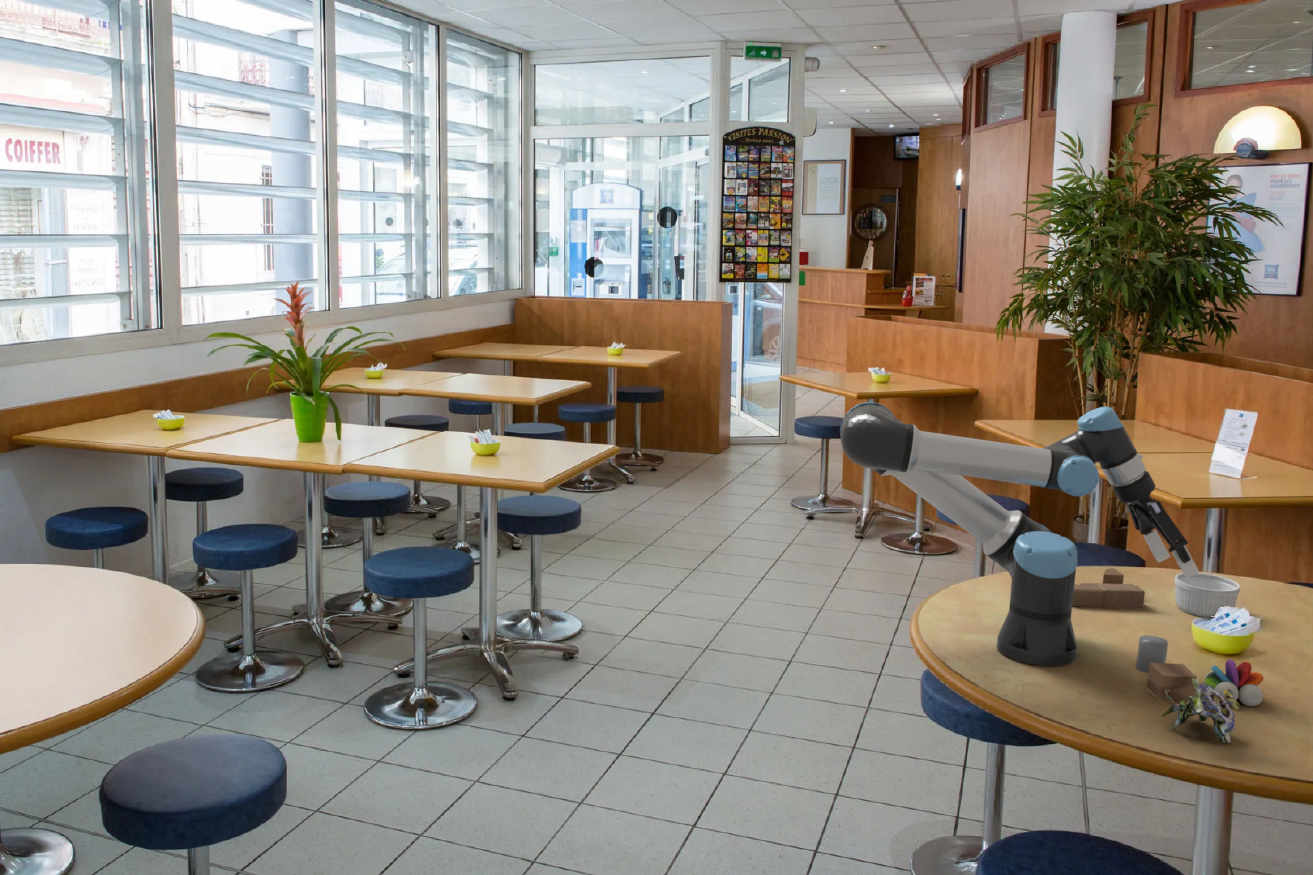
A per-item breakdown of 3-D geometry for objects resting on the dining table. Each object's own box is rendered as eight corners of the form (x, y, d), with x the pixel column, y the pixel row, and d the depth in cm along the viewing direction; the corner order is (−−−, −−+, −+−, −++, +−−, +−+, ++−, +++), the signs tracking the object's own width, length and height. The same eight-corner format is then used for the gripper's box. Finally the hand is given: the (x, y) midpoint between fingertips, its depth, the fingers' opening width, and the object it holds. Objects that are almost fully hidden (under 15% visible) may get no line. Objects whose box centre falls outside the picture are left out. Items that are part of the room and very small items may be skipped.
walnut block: (1159, 701, 191) (1162, 675, 190) (1146, 687, 197) (1149, 662, 196) (1193, 703, 191) (1197, 676, 190) (1180, 689, 197) (1183, 663, 196)
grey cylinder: (1141, 673, 203) (1145, 644, 202) (1132, 663, 208) (1135, 634, 207) (1168, 675, 203) (1172, 645, 202) (1158, 665, 208) (1161, 636, 207)
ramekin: (1246, 622, 234) (1249, 592, 233) (1182, 618, 236) (1185, 588, 235) (1224, 603, 247) (1227, 574, 245) (1164, 599, 249) (1167, 570, 247)
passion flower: (1219, 771, 177) (1245, 736, 168) (1150, 748, 180) (1171, 712, 171) (1225, 715, 184) (1250, 678, 175) (1158, 693, 187) (1179, 656, 178)
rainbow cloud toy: (1269, 711, 188) (1274, 672, 187) (1210, 705, 190) (1215, 666, 189) (1253, 692, 196) (1258, 654, 195) (1196, 686, 198) (1201, 649, 197)
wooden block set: (1150, 587, 240) (1070, 585, 240) (1147, 611, 241) (1067, 608, 242) (1119, 564, 257) (1044, 562, 257) (1116, 587, 258) (1042, 585, 258)
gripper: (1172, 478, 204) (1223, 572, 206) (1122, 460, 229) (1168, 545, 230) (1136, 497, 205) (1187, 591, 206) (1091, 477, 230) (1137, 561, 231)
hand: (1177, 567), depth 218 cm, fingers open, 13 cm apart
